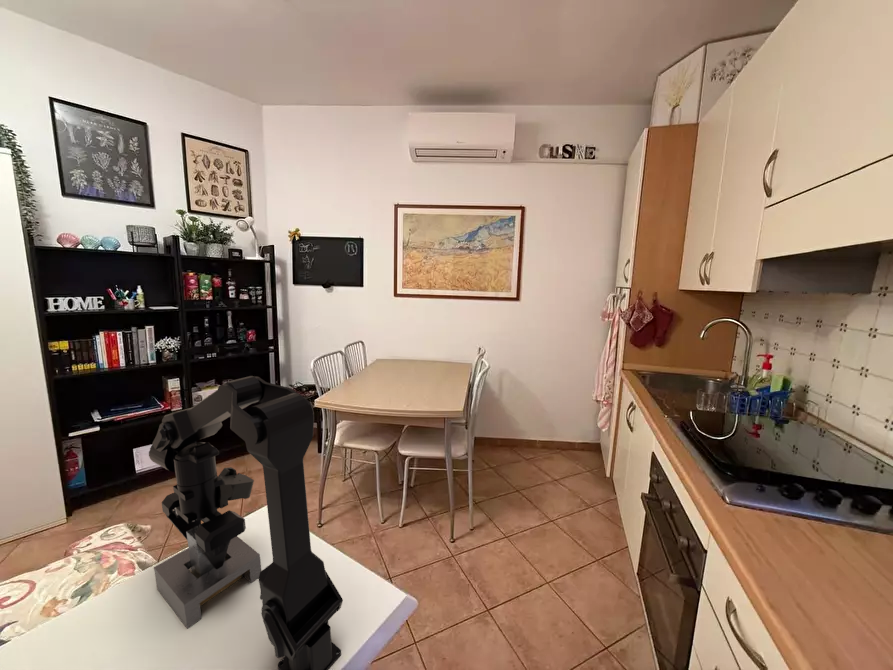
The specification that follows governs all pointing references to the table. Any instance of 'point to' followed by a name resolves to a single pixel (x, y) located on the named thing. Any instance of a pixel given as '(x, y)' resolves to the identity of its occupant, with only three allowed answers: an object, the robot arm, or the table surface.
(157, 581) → the slotted bridge-shaped block
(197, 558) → the tall square pillar
